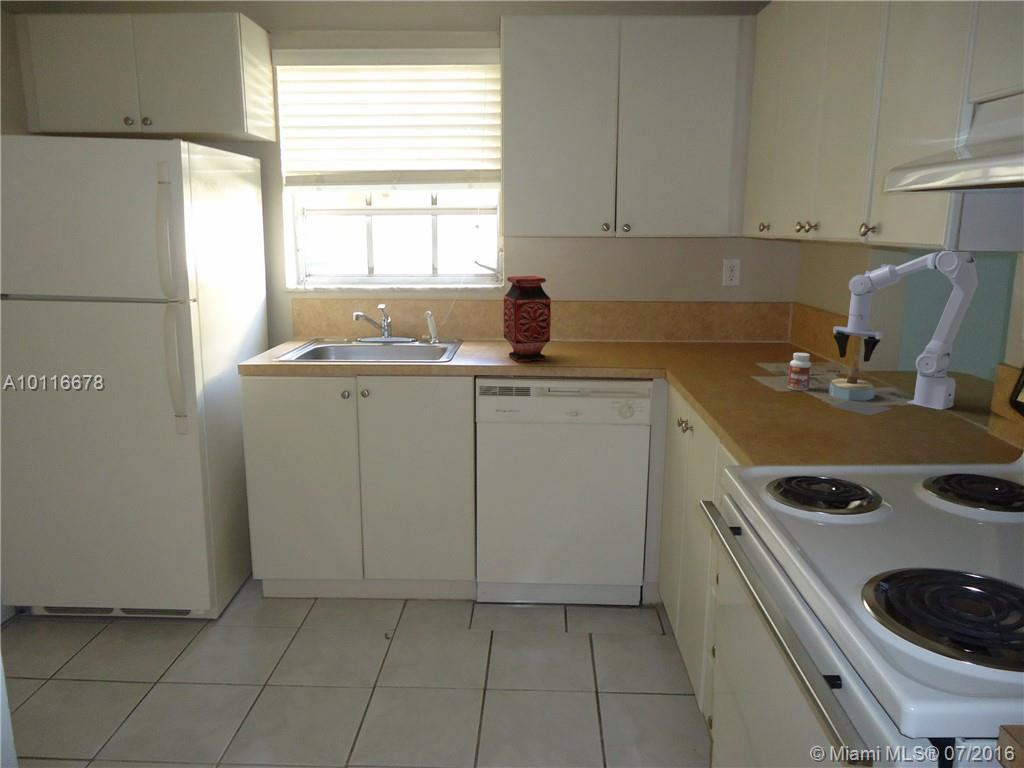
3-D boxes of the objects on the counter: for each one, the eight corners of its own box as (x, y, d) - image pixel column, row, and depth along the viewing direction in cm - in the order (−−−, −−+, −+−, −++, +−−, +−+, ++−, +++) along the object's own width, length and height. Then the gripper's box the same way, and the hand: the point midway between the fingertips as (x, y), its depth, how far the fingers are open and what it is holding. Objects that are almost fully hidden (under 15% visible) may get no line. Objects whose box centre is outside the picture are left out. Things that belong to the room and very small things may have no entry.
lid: (879, 389, 215) (882, 372, 214) (844, 390, 214) (846, 373, 213) (858, 380, 226) (860, 364, 225) (824, 381, 225) (826, 365, 224)
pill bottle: (787, 390, 229) (790, 354, 226) (787, 385, 234) (791, 351, 232) (808, 392, 227) (812, 356, 224) (808, 387, 232) (812, 352, 230)
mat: (892, 410, 207) (892, 408, 206) (869, 416, 200) (869, 415, 199) (851, 401, 216) (851, 399, 216) (828, 407, 209) (828, 406, 209)
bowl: (879, 397, 220) (881, 386, 219) (859, 403, 213) (860, 391, 213) (843, 390, 229) (844, 379, 228) (822, 395, 222) (823, 384, 222)
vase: (537, 354, 284) (538, 275, 277) (550, 361, 271) (551, 278, 264) (503, 356, 280) (503, 276, 273) (514, 363, 267) (514, 279, 260)
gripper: (890, 316, 220) (884, 361, 223) (843, 311, 231) (839, 354, 234) (877, 318, 215) (872, 364, 219) (831, 313, 227) (826, 356, 230)
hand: (854, 359), depth 226 cm, fingers open, 7 cm apart
